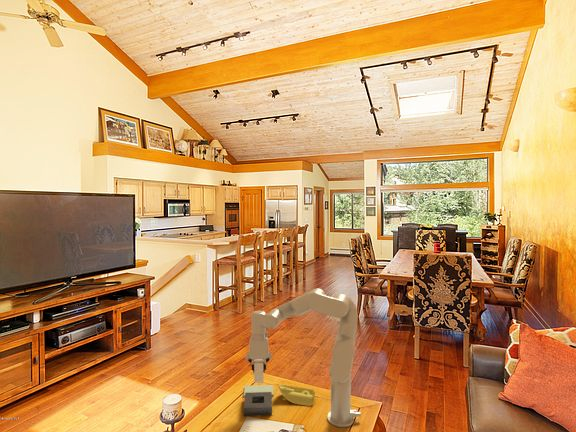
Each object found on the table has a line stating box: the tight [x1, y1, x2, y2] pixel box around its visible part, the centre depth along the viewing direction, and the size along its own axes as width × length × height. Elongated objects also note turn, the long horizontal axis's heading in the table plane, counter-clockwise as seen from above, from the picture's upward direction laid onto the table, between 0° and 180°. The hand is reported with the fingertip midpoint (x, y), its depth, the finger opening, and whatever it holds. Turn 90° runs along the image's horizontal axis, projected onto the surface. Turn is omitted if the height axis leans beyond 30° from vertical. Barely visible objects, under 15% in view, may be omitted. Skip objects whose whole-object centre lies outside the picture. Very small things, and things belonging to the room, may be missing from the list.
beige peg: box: [253, 359, 265, 384], centre depth 168 cm, size 5×5×10 cm
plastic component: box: [278, 384, 316, 407], centre depth 177 cm, size 20×7×10 cm
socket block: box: [242, 392, 273, 417], centre depth 168 cm, size 14×14×4 cm
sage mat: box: [243, 384, 274, 398], centre depth 183 cm, size 16×10×1 cm, turn 94°
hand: (258, 370), depth 168 cm, fingers closed on beige peg, 4 cm apart
